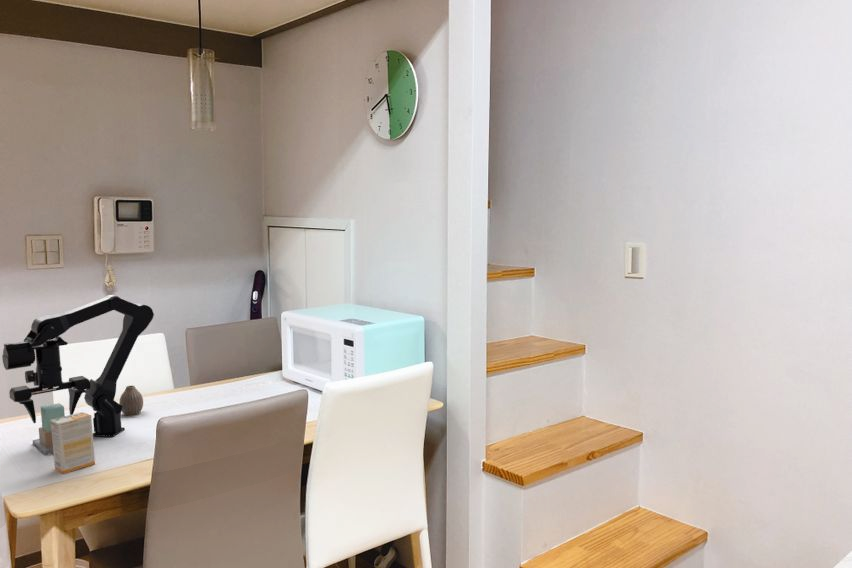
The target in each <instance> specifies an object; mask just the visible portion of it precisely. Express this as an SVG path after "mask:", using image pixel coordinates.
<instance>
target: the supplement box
mask: <svg viewBox="0 0 852 568" xmlns="http://www.w3.org/2000/svg"><path fill="white" fill-rule="evenodd" d="M50 421H51V432H52V442H53V453H52V454H53V460H54V469H55V471H57V472H59V473H61V474H68V473H70V472H73V471H76V470H79V469H83V468H86V467H90V466H93V465H95V464H96V458H95V446H94V445H95V443H94V436H93V433H94V430H93V419H92V414H89V413H87V412H84V411H81V412H77V413H73V414H72V415H70V414H69V415H65V416H64V417H60V418H56V419H52V420H50Z"/></svg>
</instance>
